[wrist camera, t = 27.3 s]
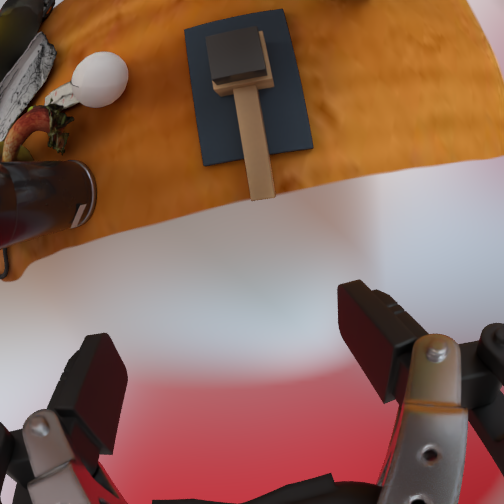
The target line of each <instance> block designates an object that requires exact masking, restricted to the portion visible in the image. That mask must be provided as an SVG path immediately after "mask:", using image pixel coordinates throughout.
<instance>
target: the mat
mask: <svg viewBox="0 0 504 504" xmlns="http://www.w3.org/2000/svg"><path fill="white" fill-rule="evenodd" d="M254 26H257V28H258V31H263V35H264V39H265V43H266V48H267V53H268V57H269V62H270V67H271V72H272V77H273V82H274V87H271V88H265V89H259V90H258V92H259V98H260V104H261V109H262V115H263V121H264V126H265V132H266V138H267V144H268V150H269V155H271V154H278V153H285V152H292V151H299V150H307V149H313V142H312V136H311V131H310V125H309V120H308V115H307V109H306V104H305V99H304V95H303V90H302V85H301V80H300V76H299V71H298V67H297V63H296V58H295V54H294V50H293V46H292V42H291V38H290V34H289V30H288V26H287V22H286V19H285V15H284V11H283V9H277V10H269V11H263V12H257V13H251V14H246V15H241V16H236V17H231V18H227V19H222V20H218V21H214V22H210V23H206V24H202V25H199V26H195V27H192V28H188V29H185V30H184V32H185V40H186V48H187V56H188V64H189V71H190V79H191V86H192V93H193V100H194V107H195V114H196V121H197V127H198V134H199V140H200V146H201V153H202V159H203V165H204V166H210V165H215V164H220V163H225V162H230V161H236V160H241V159H244V153H243V147H242V141H241V135H240V129H239V123H238V117H237V111H236V105H235V99H234V94H232V95H227V96H223V97H220V96H219V95H218V94H217V93H216V92H215V91H214V89H213V82H212V78H211V71H210V65H209V58H208V51H207V44H206V37H207V36H211V35H216V34H220V33H224V32H229V31H233V30H238V29H243V28H248V27H254Z"/></svg>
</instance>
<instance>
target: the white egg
mask: <svg viewBox="0 0 504 504" xmlns="http://www.w3.org/2000/svg"><path fill="white" fill-rule="evenodd" d="M127 81H128V69H127V66H126V64H125V62H124V61H123V60H122V59H121V58H120V57H119V56H118V55H116V54H114V53H111V52H97V53H94V54H92V55H90V56H88V57H86V58H85V59H84V60H83V61H82V62H81V63H79V64H78V66H77V68H76V69H75V71H74V73H73V76H72V80H71V81H70V83H71V84H72V91H73V94H74V96H75V98H76V99H77V100H78V101H79V102H80V103H81V104H83V105H84V106H88V107H92V108H100V107H104V106H107V105H109V104H112V103H113V102H114V101H115V100H117V99H118V98H119V97H120V96H121V95H122V93H123V92H124V90H125V88H126V85H127Z"/></svg>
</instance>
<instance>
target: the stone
mask: <svg viewBox="0 0 504 504" xmlns="http://www.w3.org/2000/svg"><path fill="white" fill-rule="evenodd" d="M56 55H57V52H56V50H55V48H54V45H53V44H50V43H48V40H47V38H46V35H45V34H44V33H43V32H39V33H38V34H37V35H36V36H35V37H34V39H33V40H32V41H31V43H30V44H29V46H28V48H27V50H26V51H25V52H24V53H23V55H22V56H21V57H20V58H19V59H18V61H17V63H15V65H14V66H13V68H12V69H11V70H10V72H8V73H7V74H6V76H5V77H4V79H3V81H2V82H1V83H0V142H1V141H3V140H4V139H5V138H6V136H7V133H8V132H9V130H10V129H11V127H12V125H13V124H14V123H15V121H16V120H17V118H18V117H19V115H20V114H21V113H22V111H23V110H24V108H25V107H27V105H28V103H29V102H30V101H31V99H32V98H33V97H34V96H35V95H36V92H37V91H38V90H39V89H40V87H41V86H42V85H43V83H44V82H45V81H46V79H47V78H48V74H49V72H50V70H51V68H52V66H53V64H54V63H53V62H54V59H55V58H56Z"/></svg>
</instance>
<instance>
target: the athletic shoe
mask: <svg viewBox="0 0 504 504" xmlns="http://www.w3.org/2000/svg"><path fill="white" fill-rule="evenodd" d="M43 11H44V2H43V0H7V1H6V2H5V4H4V5H3V6H2V8H1V10H0V83H1V82H2V81H3V79H4V77H5V76H6V74H7V73H8V72H10V70H11V69H12V68H13V66H14V65H15V63H17V61H18V59H19V58H20V57H21V56H22V55H23V53H24V52H25V51H26V50H27V48H28V46H29V44H30V43H31V41H32V40H33V39H34V37H35V36H36V35H37V32H38V30H39V27H40V24H41V21H42V15H43Z"/></svg>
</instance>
